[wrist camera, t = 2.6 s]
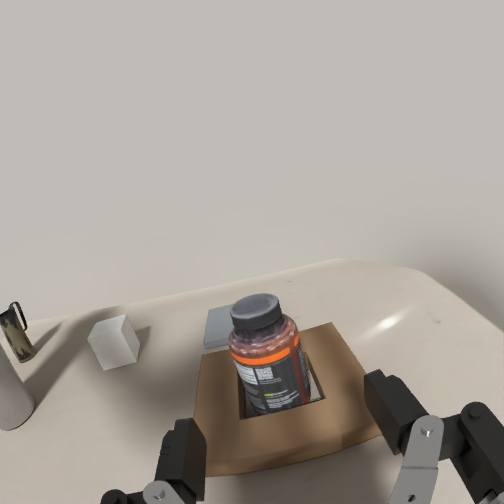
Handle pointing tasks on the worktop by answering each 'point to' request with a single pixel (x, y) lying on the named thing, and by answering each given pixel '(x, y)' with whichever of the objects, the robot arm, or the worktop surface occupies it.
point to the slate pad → (218, 327)
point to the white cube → (114, 342)
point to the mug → (16, 334)
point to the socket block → (284, 422)
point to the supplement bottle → (268, 355)
